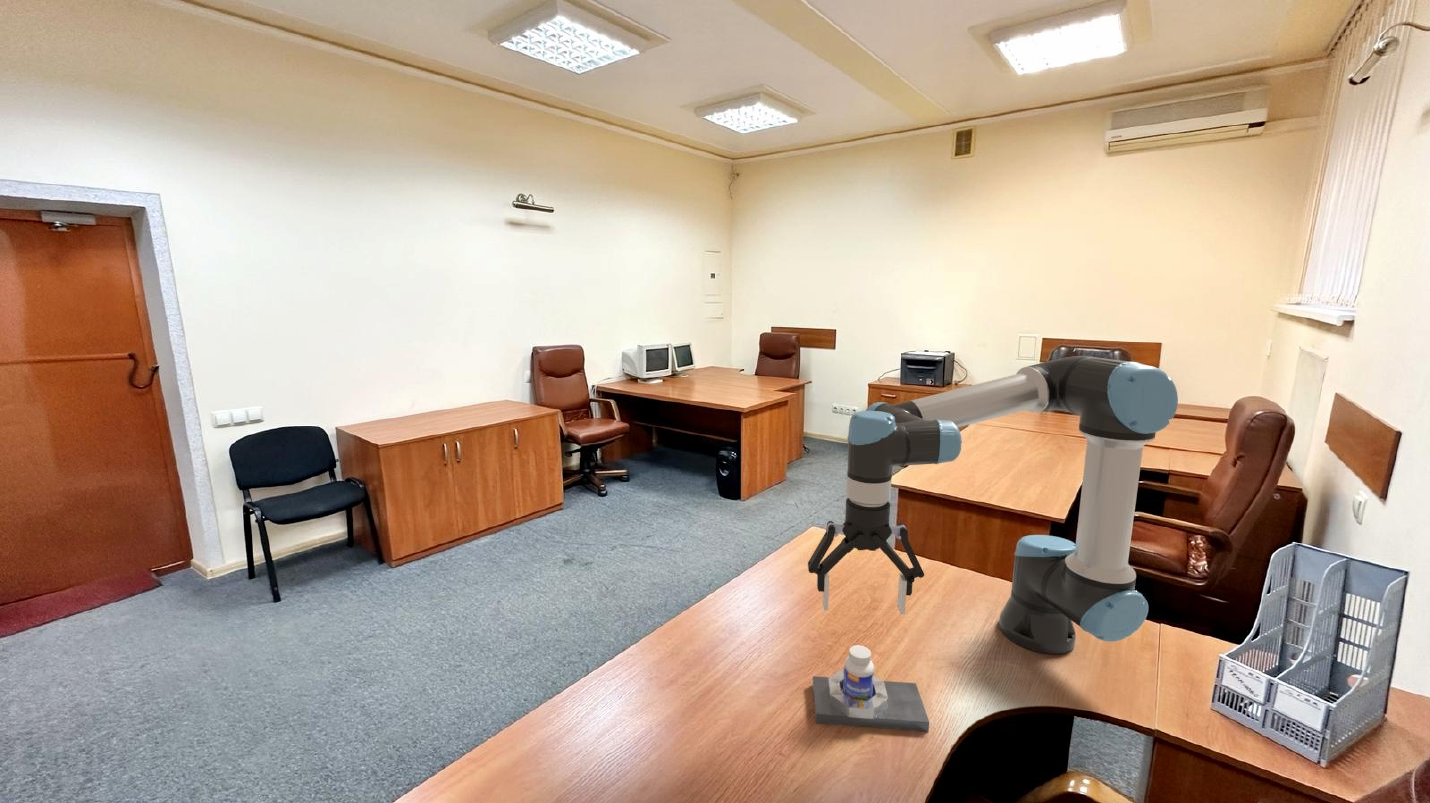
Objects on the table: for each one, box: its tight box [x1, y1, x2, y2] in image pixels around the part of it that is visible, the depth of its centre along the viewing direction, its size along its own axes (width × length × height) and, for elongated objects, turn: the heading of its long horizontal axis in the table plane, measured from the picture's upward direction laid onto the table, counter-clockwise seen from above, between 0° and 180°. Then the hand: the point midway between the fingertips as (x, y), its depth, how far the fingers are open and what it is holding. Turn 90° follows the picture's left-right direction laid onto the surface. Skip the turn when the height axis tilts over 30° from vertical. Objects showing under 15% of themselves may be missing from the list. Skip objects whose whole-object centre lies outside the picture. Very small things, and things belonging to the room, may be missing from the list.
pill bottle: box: [843, 644, 875, 701], centre depth 105 cm, size 5×5×10 cm
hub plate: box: [812, 668, 930, 733], centre depth 106 cm, size 20×10×4 cm, turn 84°
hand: (862, 608), depth 102 cm, fingers open, 13 cm apart
